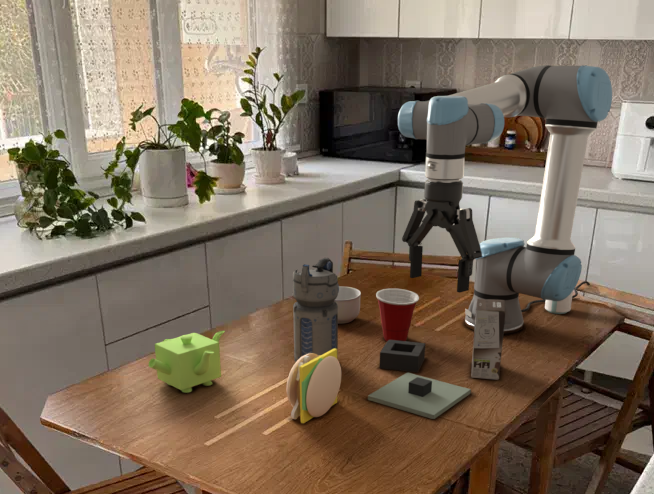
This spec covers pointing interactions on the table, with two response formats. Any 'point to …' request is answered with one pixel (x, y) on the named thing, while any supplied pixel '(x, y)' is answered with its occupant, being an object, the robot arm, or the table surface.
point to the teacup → (348, 304)
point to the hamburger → (313, 385)
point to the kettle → (188, 360)
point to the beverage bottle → (315, 309)
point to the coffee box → (488, 338)
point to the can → (559, 305)
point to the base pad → (419, 395)
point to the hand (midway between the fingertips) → (438, 283)
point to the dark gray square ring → (402, 355)
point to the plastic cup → (396, 312)
